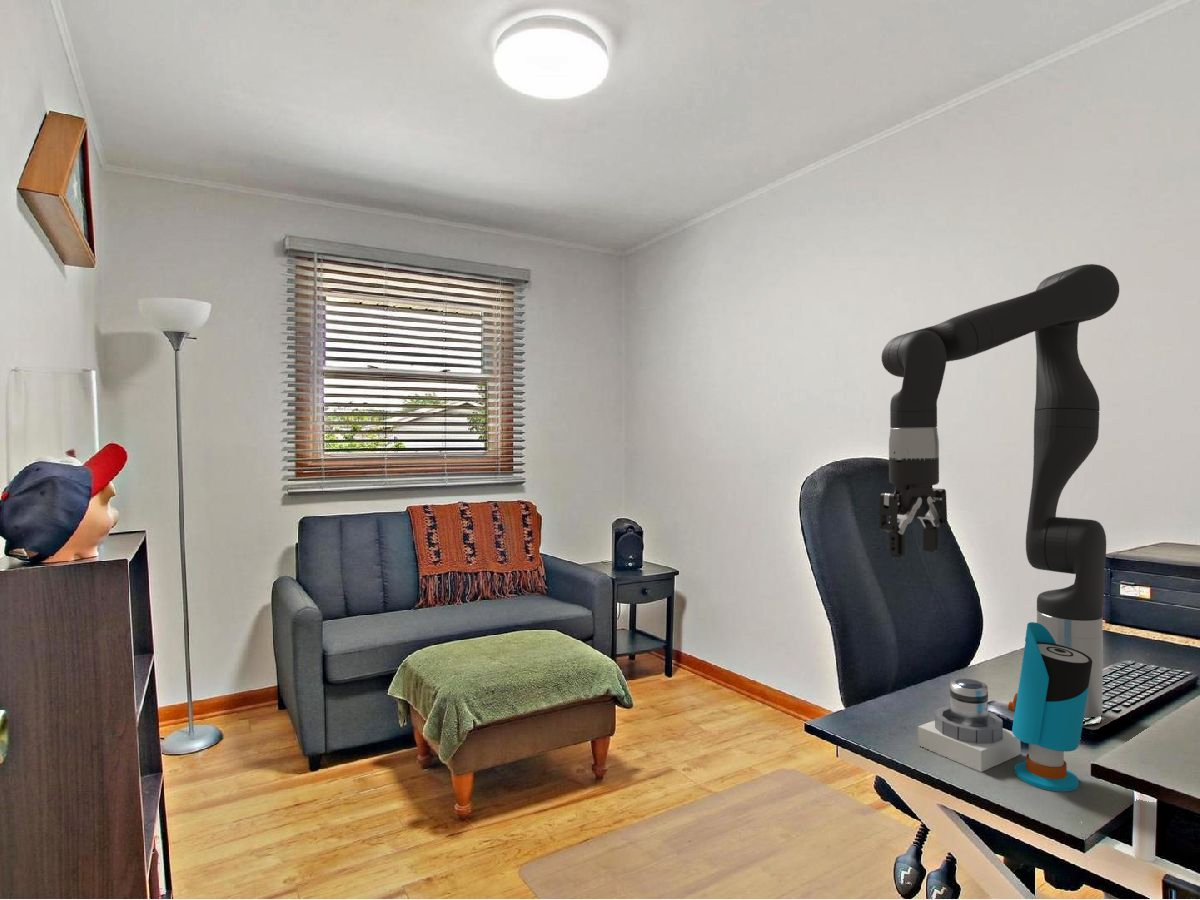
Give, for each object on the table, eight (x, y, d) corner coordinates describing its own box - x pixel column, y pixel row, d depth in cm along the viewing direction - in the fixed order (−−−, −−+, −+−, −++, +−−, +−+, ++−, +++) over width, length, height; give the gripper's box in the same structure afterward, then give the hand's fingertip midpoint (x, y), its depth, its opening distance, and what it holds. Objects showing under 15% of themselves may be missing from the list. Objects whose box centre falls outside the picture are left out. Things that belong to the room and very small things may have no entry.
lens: (962, 719, 111) (961, 674, 111) (995, 731, 107) (994, 684, 107) (943, 728, 109) (942, 682, 108) (976, 740, 104) (976, 692, 104)
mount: (957, 730, 115) (957, 699, 115) (1020, 754, 106) (1020, 721, 106) (918, 745, 110) (917, 713, 110) (981, 771, 101) (981, 737, 101)
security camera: (1089, 640, 92) (1001, 627, 98) (1088, 802, 93) (1001, 779, 99) (1095, 625, 98) (1012, 614, 105) (1095, 777, 99) (1013, 757, 105)
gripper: (920, 453, 124) (920, 546, 124) (865, 456, 116) (866, 555, 117) (961, 454, 117) (961, 552, 118) (905, 457, 110) (906, 562, 110)
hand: (914, 554), depth 117 cm, fingers open, 8 cm apart
